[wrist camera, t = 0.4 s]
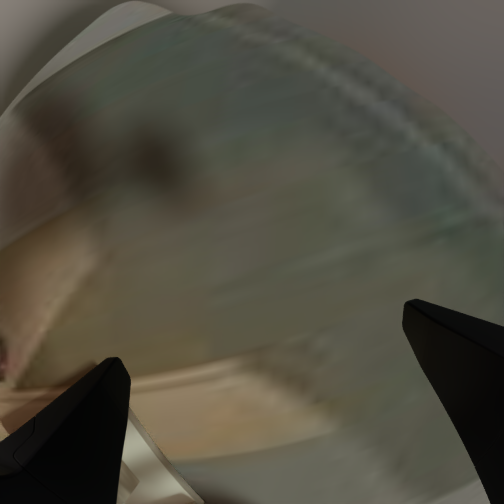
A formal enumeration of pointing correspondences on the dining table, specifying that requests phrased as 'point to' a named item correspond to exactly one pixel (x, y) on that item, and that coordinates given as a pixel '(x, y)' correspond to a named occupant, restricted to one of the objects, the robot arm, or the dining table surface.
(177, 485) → the dish rack
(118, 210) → the dining table surface
